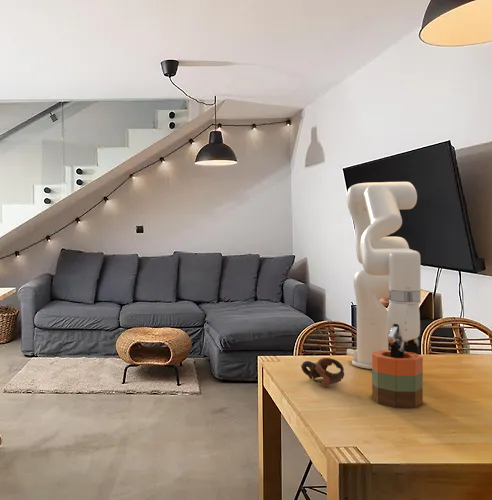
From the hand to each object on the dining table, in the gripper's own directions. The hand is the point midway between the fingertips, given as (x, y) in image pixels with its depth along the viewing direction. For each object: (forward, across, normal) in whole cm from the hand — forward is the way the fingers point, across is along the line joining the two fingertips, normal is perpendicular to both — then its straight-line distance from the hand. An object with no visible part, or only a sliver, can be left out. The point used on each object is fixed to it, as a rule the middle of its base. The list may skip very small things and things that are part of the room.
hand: (404, 362), depth 141 cm
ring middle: (+5, +4, 0) cm, 7 cm away
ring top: (+1, +4, 0) cm, 5 cm away
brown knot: (+9, +4, -22) cm, 24 cm away
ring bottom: (+9, +4, 0) cm, 10 cm away
